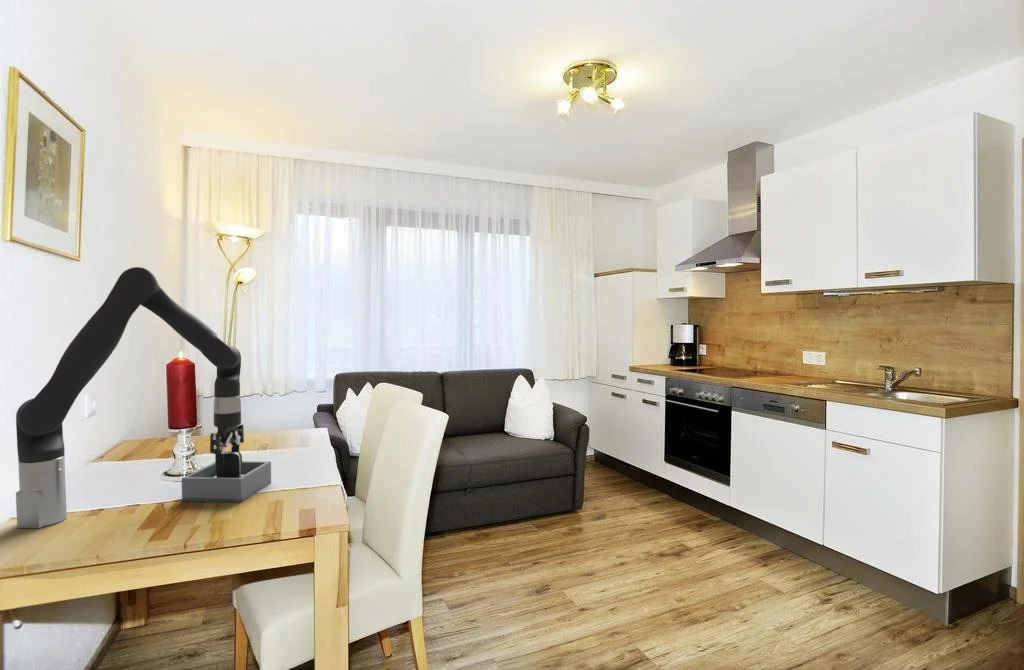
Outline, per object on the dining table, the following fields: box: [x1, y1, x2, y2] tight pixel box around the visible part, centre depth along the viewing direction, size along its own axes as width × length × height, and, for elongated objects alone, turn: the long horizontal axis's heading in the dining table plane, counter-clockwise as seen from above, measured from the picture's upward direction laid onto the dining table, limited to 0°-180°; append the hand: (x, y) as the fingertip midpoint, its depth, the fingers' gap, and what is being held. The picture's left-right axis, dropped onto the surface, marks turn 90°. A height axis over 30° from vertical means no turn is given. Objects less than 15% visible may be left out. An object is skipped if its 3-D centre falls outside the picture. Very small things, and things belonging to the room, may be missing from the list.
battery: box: [216, 451, 243, 478], centre depth 165 cm, size 7×4×11 cm, turn 98°
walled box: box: [181, 460, 272, 503], centre depth 164 cm, size 18×18×7 cm
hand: (227, 461), depth 164 cm, fingers open, 8 cm apart
